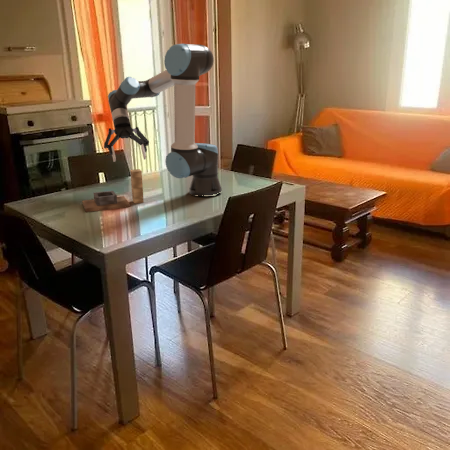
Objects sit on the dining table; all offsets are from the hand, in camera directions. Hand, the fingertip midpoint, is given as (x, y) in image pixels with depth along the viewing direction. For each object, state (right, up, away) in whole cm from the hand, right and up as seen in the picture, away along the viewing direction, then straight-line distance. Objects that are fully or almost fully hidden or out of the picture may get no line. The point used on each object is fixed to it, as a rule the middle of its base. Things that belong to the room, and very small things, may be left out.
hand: (130, 159), depth 204 cm
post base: (-8, -21, -9) cm, 24 cm away
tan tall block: (+4, -19, -4) cm, 20 cm away
